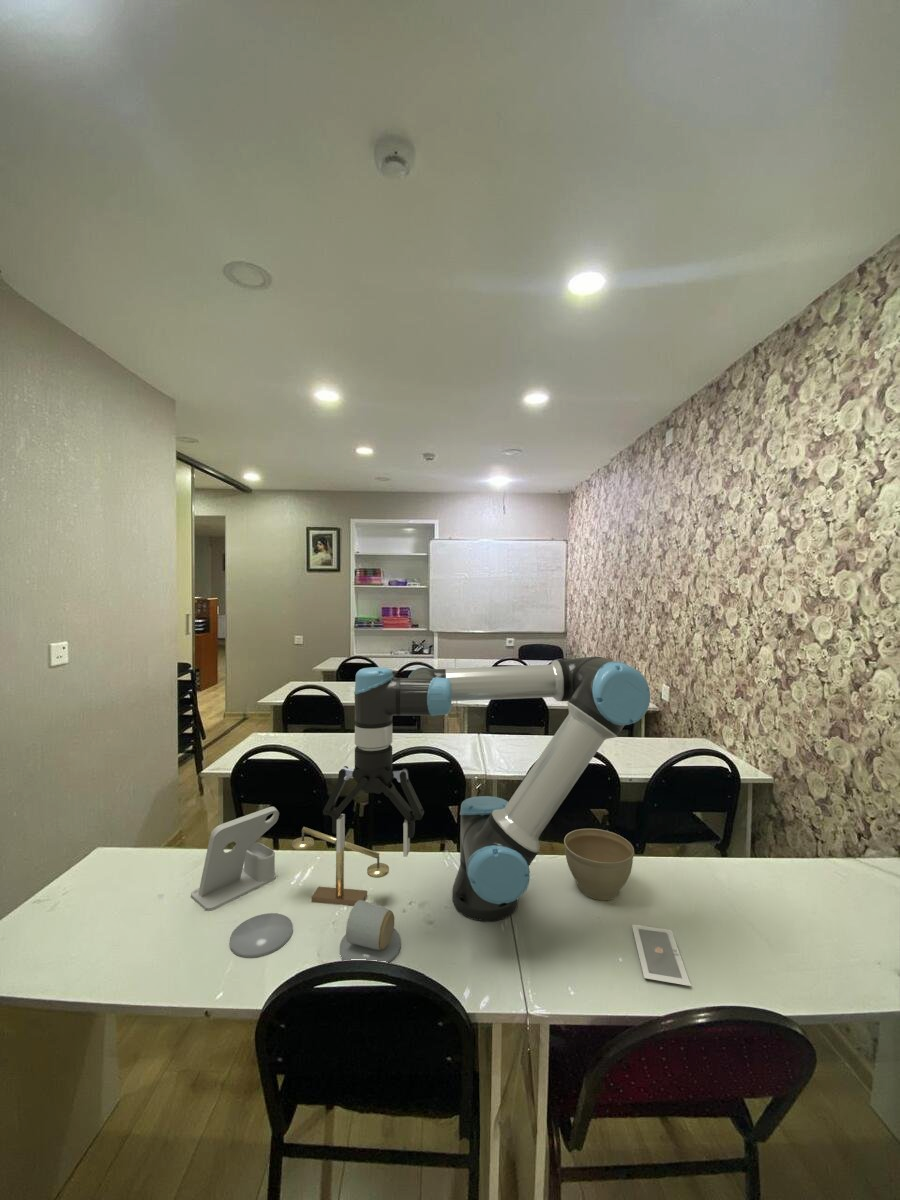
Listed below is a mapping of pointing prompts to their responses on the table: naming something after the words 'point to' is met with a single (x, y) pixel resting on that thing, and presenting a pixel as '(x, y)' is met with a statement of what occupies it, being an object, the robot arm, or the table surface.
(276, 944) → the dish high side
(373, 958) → the dish low side
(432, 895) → the table surface
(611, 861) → the planter bowl
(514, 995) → the table surface
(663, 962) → the touchpad
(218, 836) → the phone holder
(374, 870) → the balance
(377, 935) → the ceramic mug
